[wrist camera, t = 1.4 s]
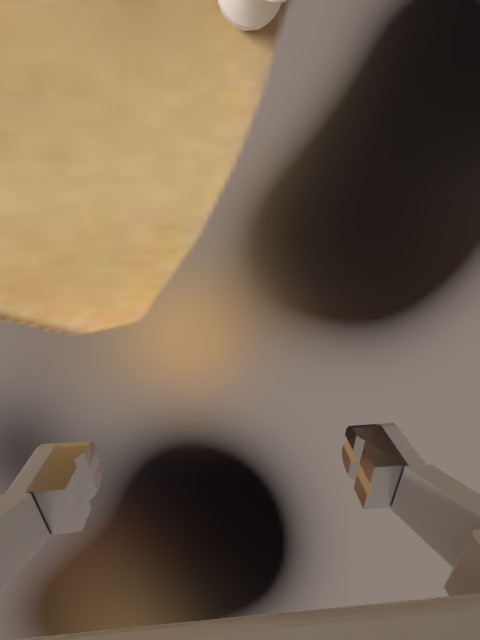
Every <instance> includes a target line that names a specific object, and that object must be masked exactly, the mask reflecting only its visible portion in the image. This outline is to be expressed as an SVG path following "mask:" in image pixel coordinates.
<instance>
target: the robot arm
mask: <svg viewBox="0 0 480 640" xmlns="http://www.w3.org/2000/svg"><path fill="white" fill-rule="evenodd" d="M345 436H346V438H347V441H346V442H345V443H344V444H343V448H342V458H343V463H344V466H345V469H346V472H347V474H348V475H349V476H350V477H351V478H353V479H354V480H355V485H354V489H355V492H356V494H357V496H358V498H359V500H360V502H361V505H362V507H363V509H370V508H371V509H372V508H391V510H392V511H393V512H394V513H395V514H396V515H397V516H399V517H400V518H401V519H402V520H403V521H404V522H405V523H406V524H407V525H408V526H409V527H410V528H411V529H413V531H414V532H416V533H417V534H418V535H419V536H420V537H421V538H422V539H423V540H424V541H425V542H426V543H427V544H428V545H430V547H432V548H433V549H434V550H435V551H436V552H437V553H438V554H439V555H440V556H441V557H442V558H443V559H444V560H445V561H446V562H447V563H449V564H450V565H451V566H452V567H453V568H452V570H451V572H450V574H449V576H448V578H447V579H446V582H445V586H444V588H445V589H446V591H447V593H448V595H449V596H445V597H436V598H425V599H416V600H405V601H395V602H385V603H375V604H365V605H355V606H345V607H335V608H325V609H315V610H305V611H295V612H285V613H275V614H265V615H255V616H245V617H235V618H225V619H215V620H205V621H195V622H185V623H176V624H165V625H155V626H145V627H135V628H125V629H115V630H105V631H95V632H85V633H75V634H65V635H56V636H47V637H46V636H45V637H35V638H25V639H17V640H480V494H478V493H477V492H475V491H474V490H472V489H470V488H469V487H467V486H465V485H464V484H462V483H461V482H459V481H457V480H456V479H454V478H453V477H451V476H449V475H448V474H446V473H444V472H443V471H441V470H440V469H438V468H436V467H435V466H433V465H431V464H430V465H427V464H426V463H425V462H424V460H423V459H422V458H421V457H420V455H419V454H418V452H417V451H416V450H415V449H414V447H413V446H412V445H411V443H410V442H409V441H408V439H407V438H406V437H405V435H404V434H403V433H402V431H401V430H400V429H399V427H398V426H397V425H396V424H394V423H383V424H369V425H355V426H348V427H347V428H346V432H345ZM96 451H97V449H96V446H95V443H93V442H80V443H59V444H42V445H40V446H39V447H38V448H36V450H35V451H34V453H33V454H32V456H31V457H30V458H29V460H28V461H27V463H26V464H25V466H24V467H23V469H22V470H21V472H20V473H19V474H18V476H17V477H16V479H15V480H14V482H13V483H12V484H11V486H10V487H9V489H8V490H7V492H6V493H5V495H0V591H1V590H2V589H3V588H4V587H5V586H6V585H7V584H8V583H9V581H11V579H12V578H13V577H14V576H15V575H16V574H17V573H18V572H19V571H20V569H22V567H23V566H24V565H25V564H26V563H27V562H28V561H29V560H30V559H31V558H32V557H33V556H34V554H35V553H36V552H37V551H38V550H39V549H40V548H41V547H42V546H43V544H44V543H45V542H46V541H47V540H48V539H49V538H50V537H51V535H52V534H62V533H71V532H80V531H82V530H83V527H84V525H85V522H86V520H87V517H88V515H89V512H90V510H91V506H90V503H89V500H90V499H91V498H92V497H93V496H94V495H95V494H96V493H97V492H98V489H99V486H100V483H101V477H102V465H101V462H100V460H99V459H97V458H96V457H95V454H96ZM15 640H16V639H15Z"/></svg>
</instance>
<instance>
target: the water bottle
mask: <svg viewBox="0 0 480 640" xmlns="http://www.w3.org/2000/svg"><path fill="white" fill-rule="evenodd" d="M286 1H288V0H218V3H219V6H220V9H221V12H222V14H223V16H224V17H225V18H226V20H227V21H228V22H229V23H230V24H231V25H232V26H234V27H235V28H237V29H239V30H242V31H249V30H258V29H260V28H262V27H264V26H265V25H266V24H268V23H269V22H270V21H271V20H272V19H273V18H274V17H275V15H276V14H277V12H278V11H279V9H280V6H281V4H282V3H283V2H286Z"/></svg>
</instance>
